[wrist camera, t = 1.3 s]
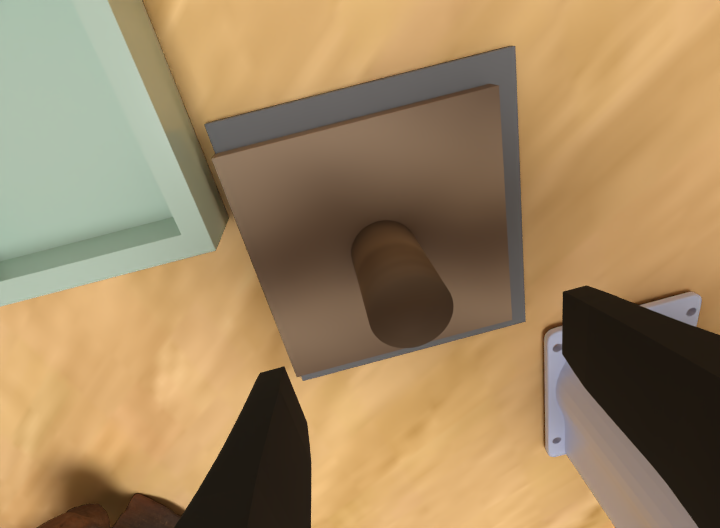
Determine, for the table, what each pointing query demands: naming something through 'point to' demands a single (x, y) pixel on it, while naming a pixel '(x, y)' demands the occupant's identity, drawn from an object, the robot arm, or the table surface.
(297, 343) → the lid
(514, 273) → the mat
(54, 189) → the dish
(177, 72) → the table surface
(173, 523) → the pottery mug
